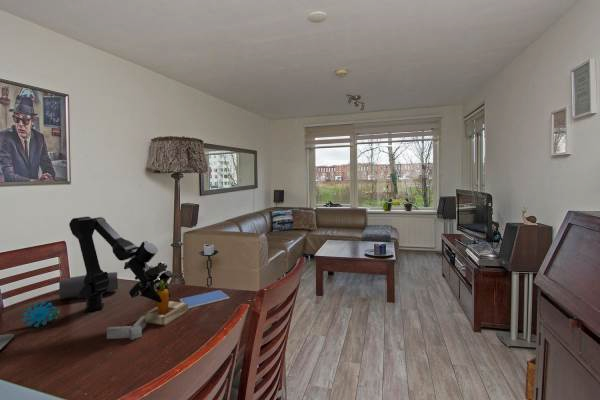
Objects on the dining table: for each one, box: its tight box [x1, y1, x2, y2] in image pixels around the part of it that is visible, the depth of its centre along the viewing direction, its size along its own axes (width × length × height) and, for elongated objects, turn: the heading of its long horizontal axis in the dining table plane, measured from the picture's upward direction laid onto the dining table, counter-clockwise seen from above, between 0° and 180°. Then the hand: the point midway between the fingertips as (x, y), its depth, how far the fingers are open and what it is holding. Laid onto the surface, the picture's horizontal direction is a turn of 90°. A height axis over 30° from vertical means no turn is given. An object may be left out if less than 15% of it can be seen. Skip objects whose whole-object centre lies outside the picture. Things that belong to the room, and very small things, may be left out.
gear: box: [22, 300, 61, 328], centre depth 124 cm, size 11×6×10 cm
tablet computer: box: [179, 289, 230, 310], centre depth 146 cm, size 19×13×1 cm, turn 126°
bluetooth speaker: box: [58, 271, 119, 299], centre depth 152 cm, size 23×9×10 cm, turn 120°
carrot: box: [155, 281, 170, 315], centre depth 127 cm, size 5×5×15 cm
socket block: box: [142, 300, 189, 326], centre depth 129 cm, size 10×14×3 cm
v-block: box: [106, 315, 147, 341], centre depth 114 cm, size 9×13×4 cm, turn 140°
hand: (165, 299), depth 126 cm, fingers closed on carrot, 5 cm apart
